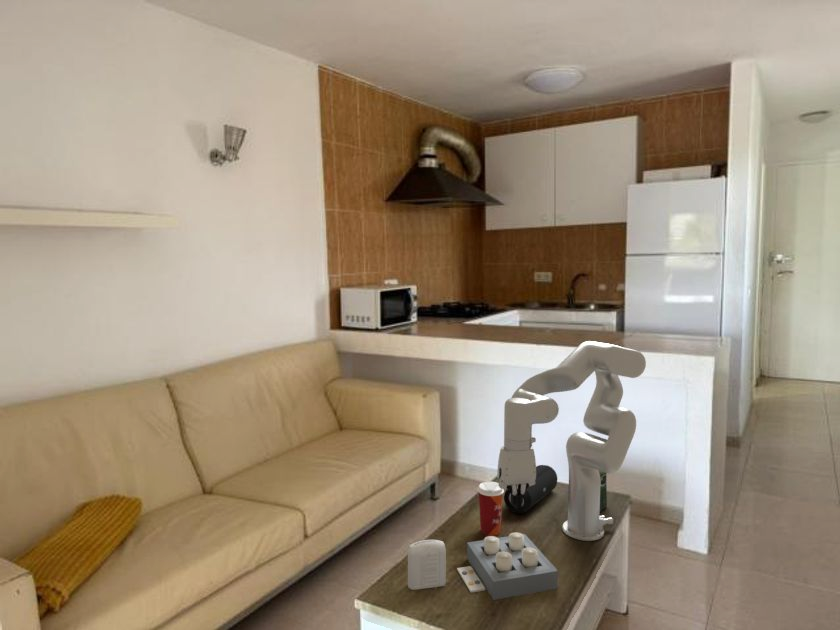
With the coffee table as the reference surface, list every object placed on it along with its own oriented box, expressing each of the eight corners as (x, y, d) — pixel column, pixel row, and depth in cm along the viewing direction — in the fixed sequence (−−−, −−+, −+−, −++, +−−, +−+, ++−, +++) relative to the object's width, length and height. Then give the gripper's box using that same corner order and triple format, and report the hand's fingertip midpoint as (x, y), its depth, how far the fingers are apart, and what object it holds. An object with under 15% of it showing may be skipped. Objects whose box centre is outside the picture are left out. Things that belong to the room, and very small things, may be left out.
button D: (507, 566, 154) (508, 549, 153) (514, 575, 150) (514, 558, 149) (493, 569, 153) (493, 552, 152) (499, 578, 149) (499, 560, 148)
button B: (533, 562, 156) (533, 545, 155) (540, 571, 152) (540, 553, 151) (519, 565, 155) (519, 548, 154) (525, 573, 151) (526, 556, 150)
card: (470, 567, 160) (470, 565, 160) (485, 590, 149) (485, 587, 149) (457, 569, 159) (457, 567, 159) (470, 592, 148) (470, 590, 148)
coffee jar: (589, 499, 202) (590, 448, 200) (610, 506, 196) (611, 454, 194) (574, 508, 195) (576, 456, 193) (596, 515, 190) (597, 462, 187)
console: (524, 549, 169) (524, 533, 168) (557, 588, 149) (557, 570, 149) (466, 558, 164) (467, 542, 163) (493, 600, 145) (493, 581, 144)
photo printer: (443, 577, 155) (443, 534, 153) (447, 586, 151) (447, 542, 149) (406, 583, 153) (405, 539, 151) (409, 592, 149) (409, 547, 147)
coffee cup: (502, 539, 175) (503, 492, 173) (476, 536, 176) (476, 490, 175) (504, 526, 183) (504, 481, 181) (478, 523, 185) (478, 479, 183)
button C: (495, 550, 162) (495, 534, 161) (501, 558, 158) (501, 541, 157) (481, 553, 161) (481, 536, 160) (487, 560, 157) (487, 544, 156)
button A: (520, 547, 164) (520, 530, 163) (526, 554, 160) (526, 538, 159) (506, 549, 163) (506, 532, 162) (512, 556, 159) (512, 540, 158)
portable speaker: (527, 519, 188) (528, 490, 187) (501, 511, 194) (501, 483, 192) (559, 492, 208) (560, 466, 207) (534, 485, 214) (534, 460, 213)
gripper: (536, 436, 163) (534, 497, 165) (487, 441, 159) (486, 503, 161) (548, 445, 156) (547, 509, 158) (497, 450, 152) (497, 515, 154)
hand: (516, 506), depth 160 cm, fingers closed
